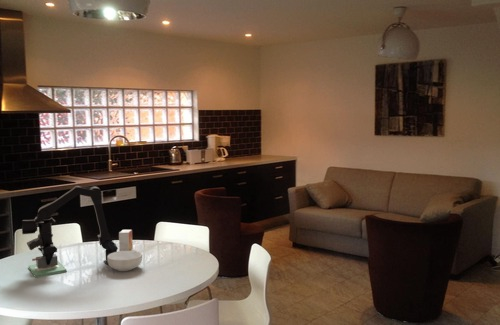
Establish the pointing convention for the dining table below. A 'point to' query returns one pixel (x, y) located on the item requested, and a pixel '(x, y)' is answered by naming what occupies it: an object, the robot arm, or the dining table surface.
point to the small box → (125, 240)
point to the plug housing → (42, 261)
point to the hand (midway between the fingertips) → (47, 263)
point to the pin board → (47, 270)
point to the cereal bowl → (124, 260)
